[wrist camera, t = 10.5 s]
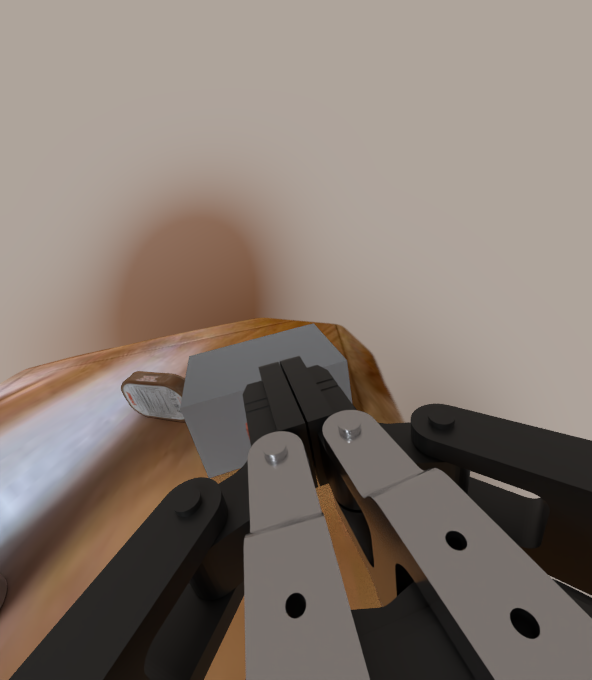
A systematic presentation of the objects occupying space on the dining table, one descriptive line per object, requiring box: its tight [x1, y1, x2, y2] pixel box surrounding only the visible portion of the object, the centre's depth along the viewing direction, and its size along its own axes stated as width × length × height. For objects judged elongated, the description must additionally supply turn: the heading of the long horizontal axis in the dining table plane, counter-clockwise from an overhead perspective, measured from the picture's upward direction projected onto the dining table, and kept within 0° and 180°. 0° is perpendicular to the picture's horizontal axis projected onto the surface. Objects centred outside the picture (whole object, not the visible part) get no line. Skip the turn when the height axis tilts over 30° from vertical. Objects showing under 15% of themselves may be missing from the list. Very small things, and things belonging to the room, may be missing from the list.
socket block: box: [180, 323, 352, 478], centre depth 44 cm, size 14×20×11 cm
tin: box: [121, 371, 185, 422], centre depth 51 cm, size 15×3×8 cm, turn 69°
